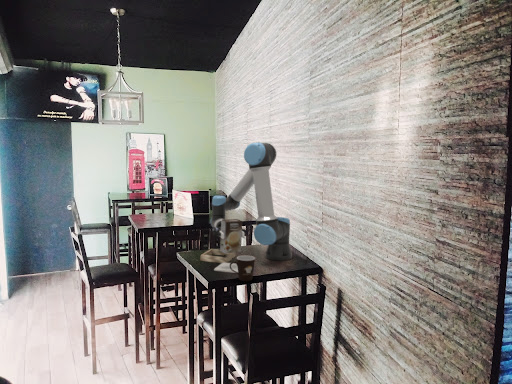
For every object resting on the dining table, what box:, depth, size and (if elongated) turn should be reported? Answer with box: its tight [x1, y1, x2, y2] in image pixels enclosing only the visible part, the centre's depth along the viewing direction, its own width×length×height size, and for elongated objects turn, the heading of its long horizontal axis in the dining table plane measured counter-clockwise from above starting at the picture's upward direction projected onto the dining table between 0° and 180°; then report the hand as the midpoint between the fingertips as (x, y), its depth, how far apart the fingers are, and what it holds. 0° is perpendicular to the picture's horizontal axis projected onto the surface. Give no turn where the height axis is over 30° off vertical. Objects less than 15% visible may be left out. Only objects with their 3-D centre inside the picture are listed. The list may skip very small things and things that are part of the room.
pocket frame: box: [200, 248, 237, 264], centre depth 213 cm, size 15×15×3 cm
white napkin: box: [213, 262, 238, 274], centre depth 195 cm, size 14×12×1 cm
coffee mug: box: [229, 255, 256, 282], centre depth 180 cm, size 12×9×10 cm
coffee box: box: [219, 218, 243, 253], centre depth 194 cm, size 9×6×16 cm
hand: (233, 235), depth 190 cm, fingers closed on coffee box, 10 cm apart
